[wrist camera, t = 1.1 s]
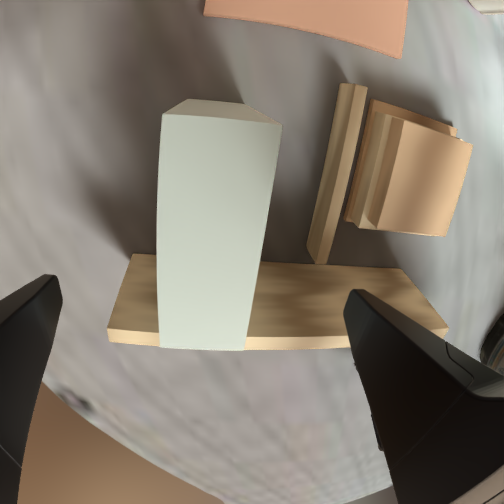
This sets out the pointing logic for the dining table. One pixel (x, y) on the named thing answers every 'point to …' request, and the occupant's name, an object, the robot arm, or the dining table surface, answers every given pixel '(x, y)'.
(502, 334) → the beer stein
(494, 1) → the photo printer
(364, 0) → the mat
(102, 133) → the dining table surface
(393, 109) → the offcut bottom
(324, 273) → the rack
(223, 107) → the tall pale grey block
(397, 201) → the offcut top
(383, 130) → the offcut middle
